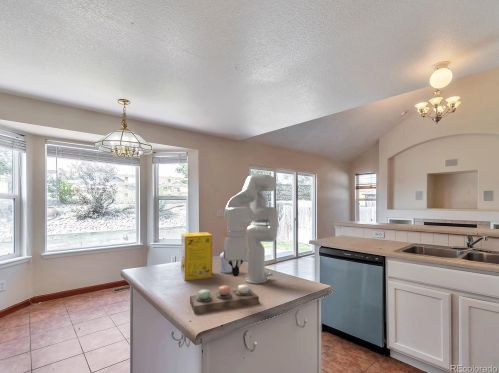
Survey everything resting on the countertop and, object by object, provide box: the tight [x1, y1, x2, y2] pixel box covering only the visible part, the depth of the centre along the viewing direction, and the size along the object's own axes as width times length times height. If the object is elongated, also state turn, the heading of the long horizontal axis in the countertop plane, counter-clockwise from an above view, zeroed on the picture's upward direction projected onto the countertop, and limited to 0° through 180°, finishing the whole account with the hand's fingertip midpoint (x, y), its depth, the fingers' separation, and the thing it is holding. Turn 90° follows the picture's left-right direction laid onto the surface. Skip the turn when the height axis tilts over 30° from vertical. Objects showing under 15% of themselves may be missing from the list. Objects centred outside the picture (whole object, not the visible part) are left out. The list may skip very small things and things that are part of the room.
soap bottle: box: [219, 232, 232, 274], centre depth 168 cm, size 9×9×25 cm
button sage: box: [197, 288, 210, 299], centre depth 111 cm, size 5×5×2 cm
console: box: [189, 288, 260, 315], centre depth 114 cm, size 28×12×4 cm, turn 111°
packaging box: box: [180, 231, 213, 281], centre depth 159 cm, size 16×16×25 cm
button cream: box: [237, 284, 250, 293], centre depth 118 cm, size 5×5×2 cm
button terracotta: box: [218, 285, 231, 295], centre depth 114 cm, size 5×5×2 cm
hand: (235, 275), depth 116 cm, fingers closed
